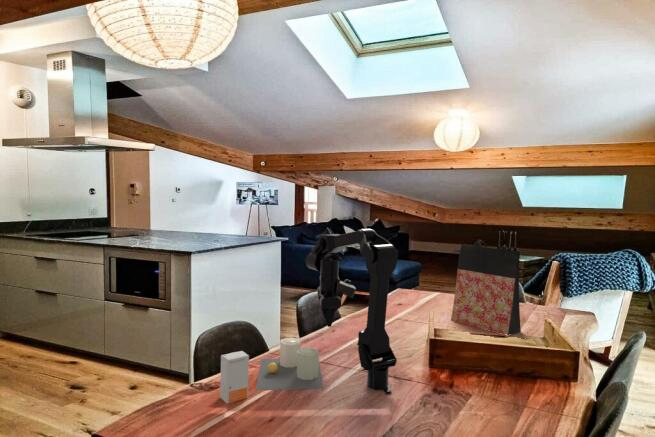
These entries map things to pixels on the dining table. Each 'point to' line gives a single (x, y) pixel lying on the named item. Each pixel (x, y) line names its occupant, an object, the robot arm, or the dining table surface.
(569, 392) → the dining table surface
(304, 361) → the sage cup
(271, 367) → the amber marble
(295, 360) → the cream cup
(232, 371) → the skincare box
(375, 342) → the robot arm
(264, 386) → the mat
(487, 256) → the gift bag
